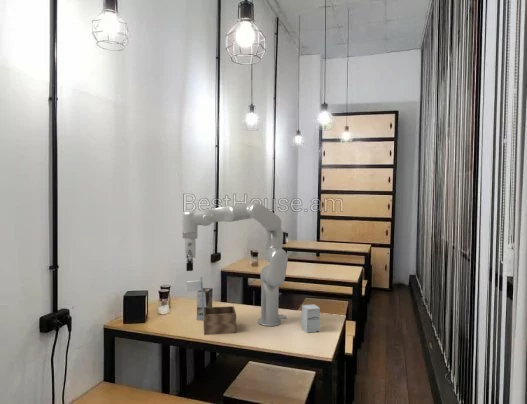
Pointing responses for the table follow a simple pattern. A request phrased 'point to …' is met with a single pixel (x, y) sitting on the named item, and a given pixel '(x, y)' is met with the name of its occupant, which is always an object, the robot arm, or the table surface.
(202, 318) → the coffee box
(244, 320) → the table surface
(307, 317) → the supplement box
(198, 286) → the lid
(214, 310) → the walnut box
